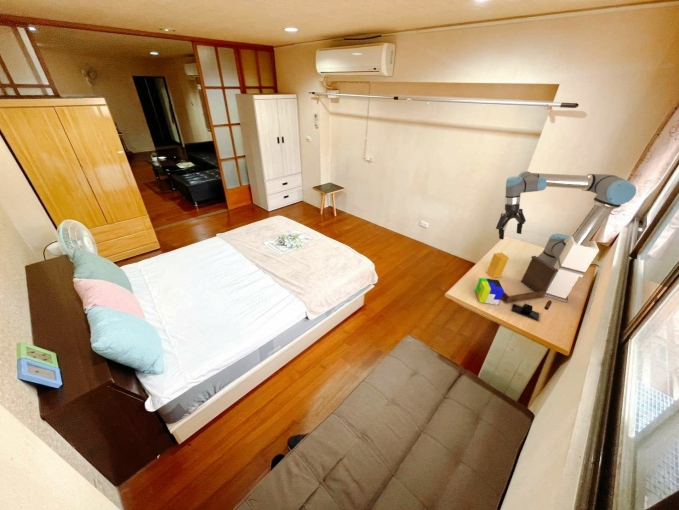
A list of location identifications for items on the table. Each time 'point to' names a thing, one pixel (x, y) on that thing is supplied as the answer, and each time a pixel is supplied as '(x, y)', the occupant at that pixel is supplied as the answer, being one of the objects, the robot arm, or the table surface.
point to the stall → (534, 280)
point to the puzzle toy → (489, 291)
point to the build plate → (526, 311)
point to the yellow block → (497, 265)
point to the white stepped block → (570, 268)
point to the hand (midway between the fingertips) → (510, 236)
